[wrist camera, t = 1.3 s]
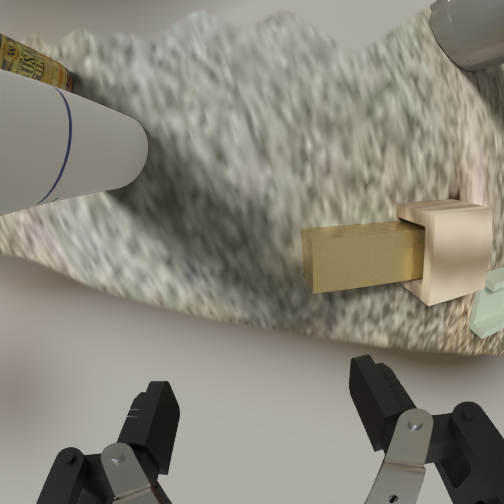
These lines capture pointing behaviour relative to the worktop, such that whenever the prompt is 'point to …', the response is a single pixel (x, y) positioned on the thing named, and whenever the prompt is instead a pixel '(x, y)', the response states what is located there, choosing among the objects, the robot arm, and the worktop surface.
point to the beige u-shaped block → (450, 248)
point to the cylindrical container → (61, 145)
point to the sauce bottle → (33, 64)
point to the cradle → (489, 305)
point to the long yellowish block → (362, 255)
